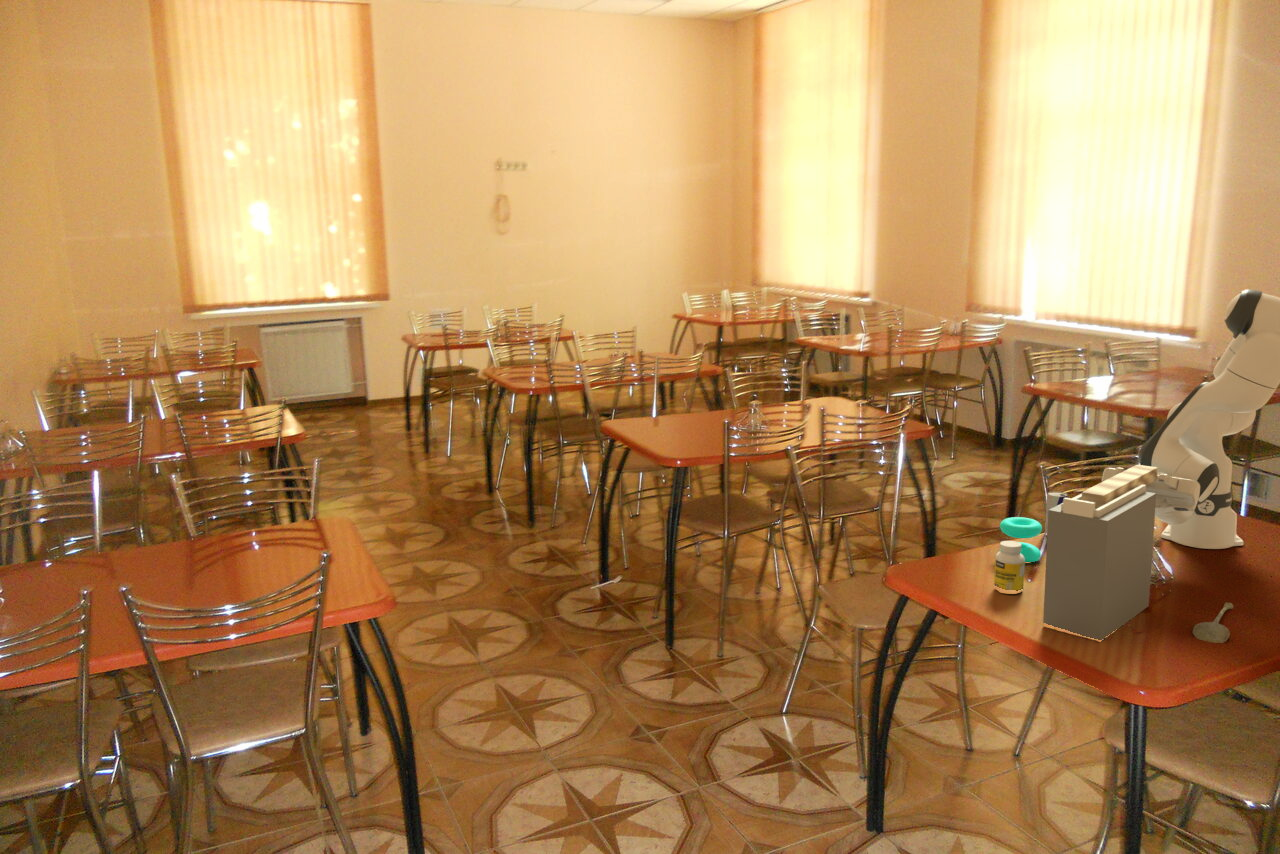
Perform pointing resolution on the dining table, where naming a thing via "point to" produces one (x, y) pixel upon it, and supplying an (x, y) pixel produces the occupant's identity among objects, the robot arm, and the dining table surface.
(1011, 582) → the pill bottle
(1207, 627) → the soupspoon
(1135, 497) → the gray open box
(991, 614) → the dining table surface
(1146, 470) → the wooden bar
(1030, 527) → the donuts
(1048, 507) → the energy drink
